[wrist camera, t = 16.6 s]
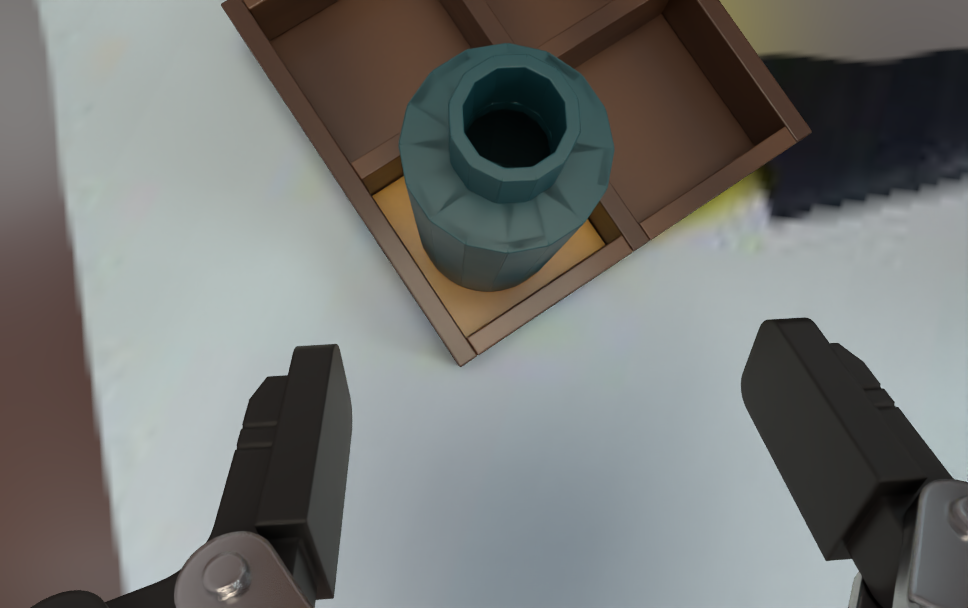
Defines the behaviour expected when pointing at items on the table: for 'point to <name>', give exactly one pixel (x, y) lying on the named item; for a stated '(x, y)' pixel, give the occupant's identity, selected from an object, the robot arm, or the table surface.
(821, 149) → the table surface
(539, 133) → the bottle
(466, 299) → the compartment tray
